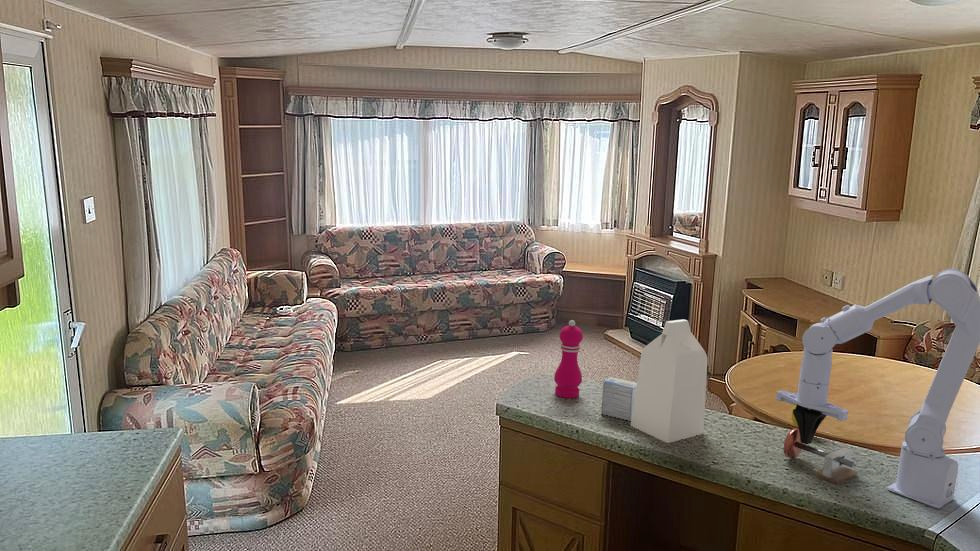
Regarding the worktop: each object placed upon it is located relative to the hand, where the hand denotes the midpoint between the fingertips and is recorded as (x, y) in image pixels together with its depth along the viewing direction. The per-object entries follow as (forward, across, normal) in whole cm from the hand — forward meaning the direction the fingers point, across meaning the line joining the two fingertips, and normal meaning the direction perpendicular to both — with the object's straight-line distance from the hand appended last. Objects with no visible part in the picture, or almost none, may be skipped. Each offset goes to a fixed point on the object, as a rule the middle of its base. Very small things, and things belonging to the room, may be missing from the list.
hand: (805, 442), depth 153 cm
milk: (+5, +28, +10) cm, 30 cm away
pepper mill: (+5, +58, +13) cm, 60 cm away
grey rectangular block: (+5, +40, +13) cm, 42 cm away
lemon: (+5, +10, -18) cm, 21 cm away
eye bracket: (+5, -7, 0) cm, 8 cm away
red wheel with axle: (+4, -3, 0) cm, 5 cm away
